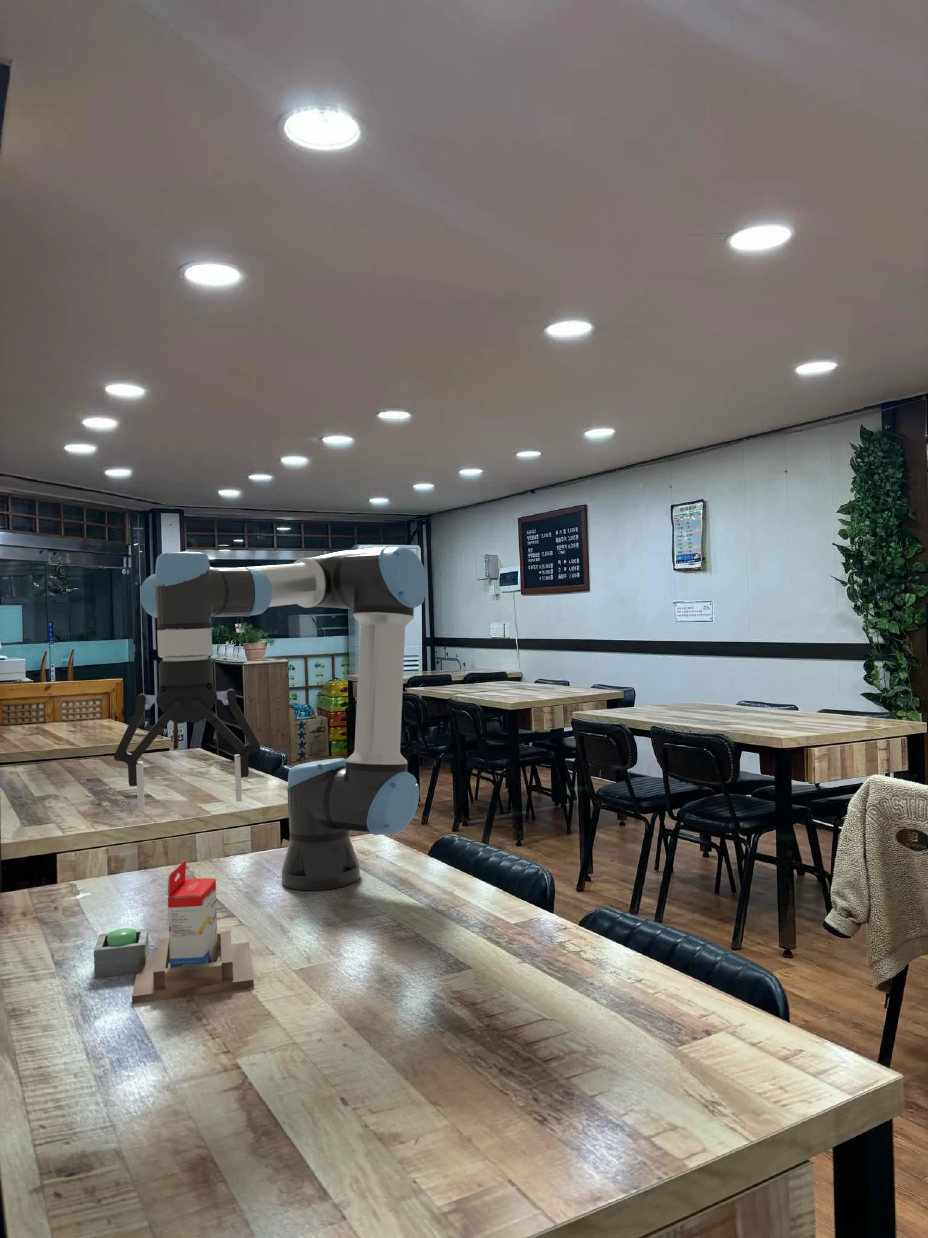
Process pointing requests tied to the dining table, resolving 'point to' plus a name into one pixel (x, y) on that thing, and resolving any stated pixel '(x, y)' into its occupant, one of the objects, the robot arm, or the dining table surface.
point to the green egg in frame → (120, 955)
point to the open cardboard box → (194, 972)
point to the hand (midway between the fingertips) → (190, 804)
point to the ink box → (191, 919)
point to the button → (121, 937)
